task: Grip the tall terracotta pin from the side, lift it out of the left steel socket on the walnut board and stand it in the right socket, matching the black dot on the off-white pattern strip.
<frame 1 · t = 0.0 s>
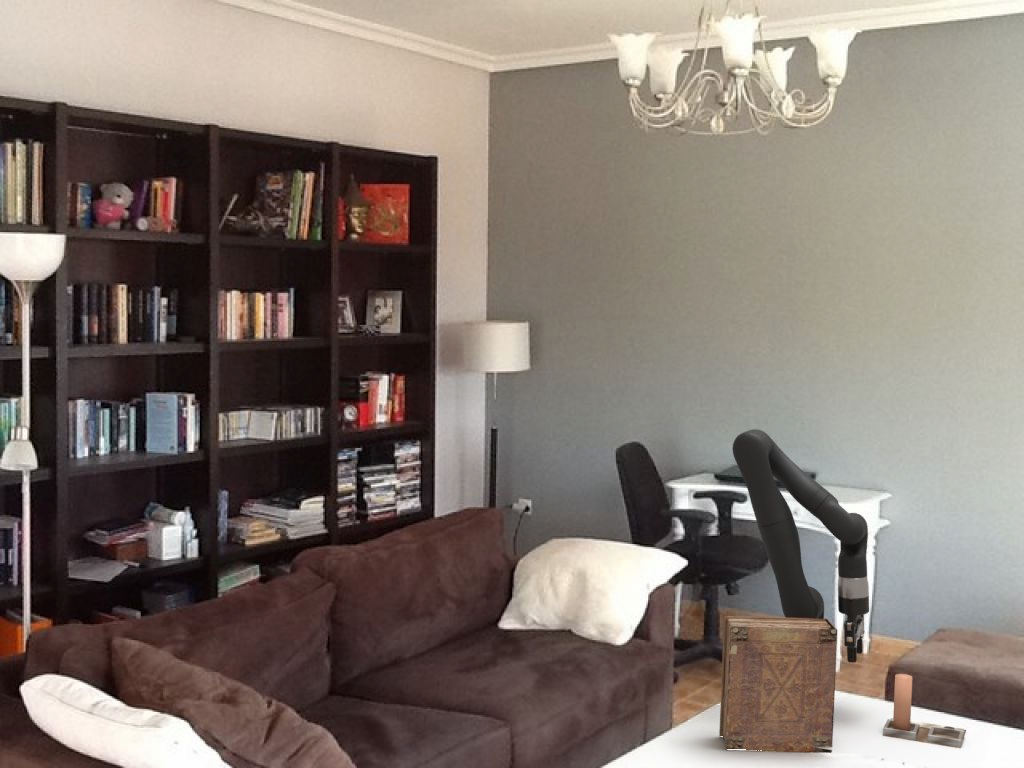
hand: (855, 657, 319), 17 cm above the table, tool pointing down, fingers open, 8 cm apart
walnut socket board: (924, 738, 311), on the table
book: (774, 745, 305), on the table
terracotta pin: (901, 732, 311), point 1 cm above the table, touching walnut socket board
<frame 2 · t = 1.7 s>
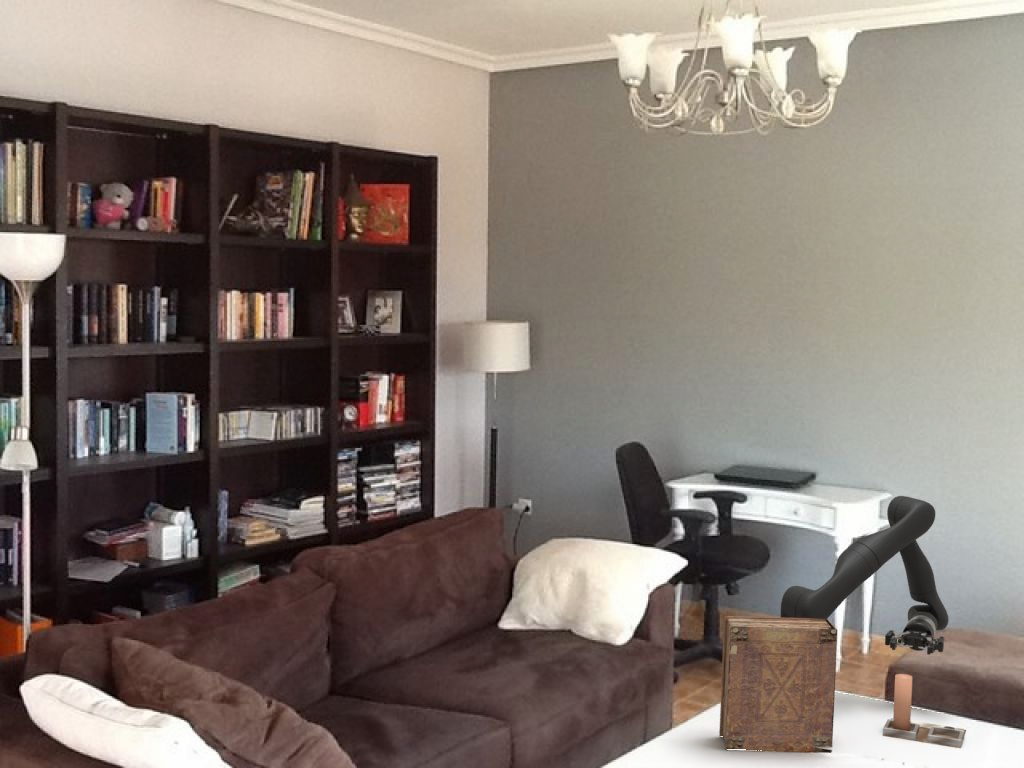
hand: (911, 648, 319), 20 cm above the table, tool horizontal, fingers open, 8 cm apart
nothing on the table moved.
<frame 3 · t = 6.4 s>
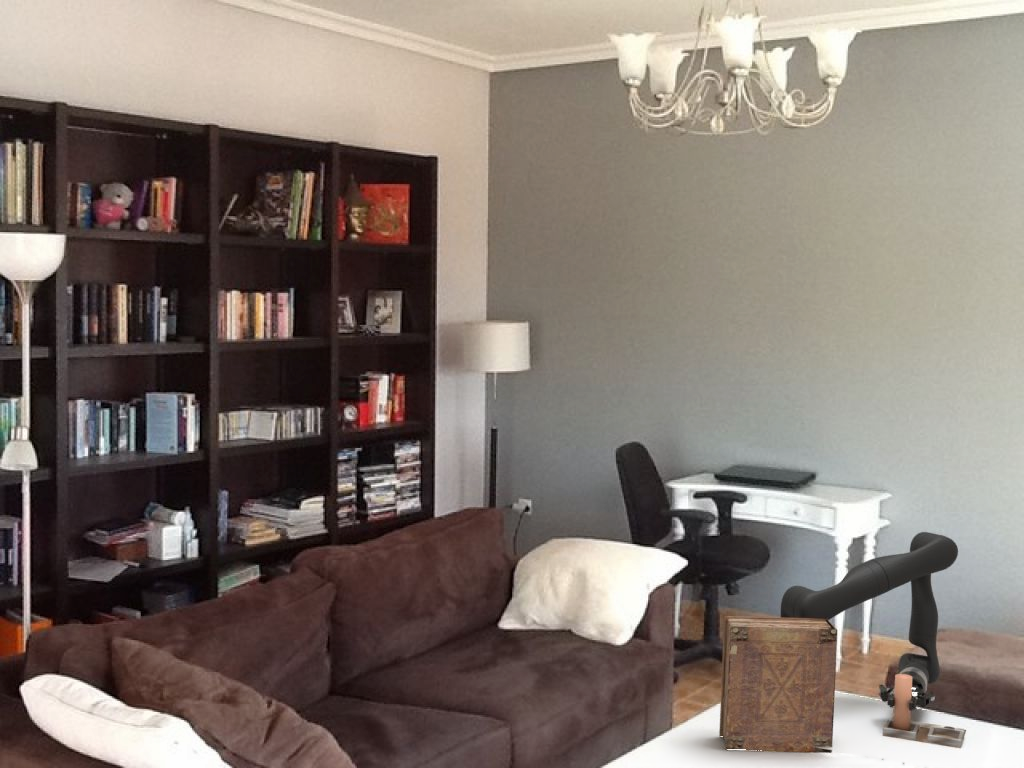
hand: (901, 704, 308), 9 cm above the table, tool horizontal, fingers closed on terracotta pin, 4 cm apart
terracotta pin: (901, 732, 311), point 2 cm above the table, touching gripper, walnut socket board
everything else where it was.
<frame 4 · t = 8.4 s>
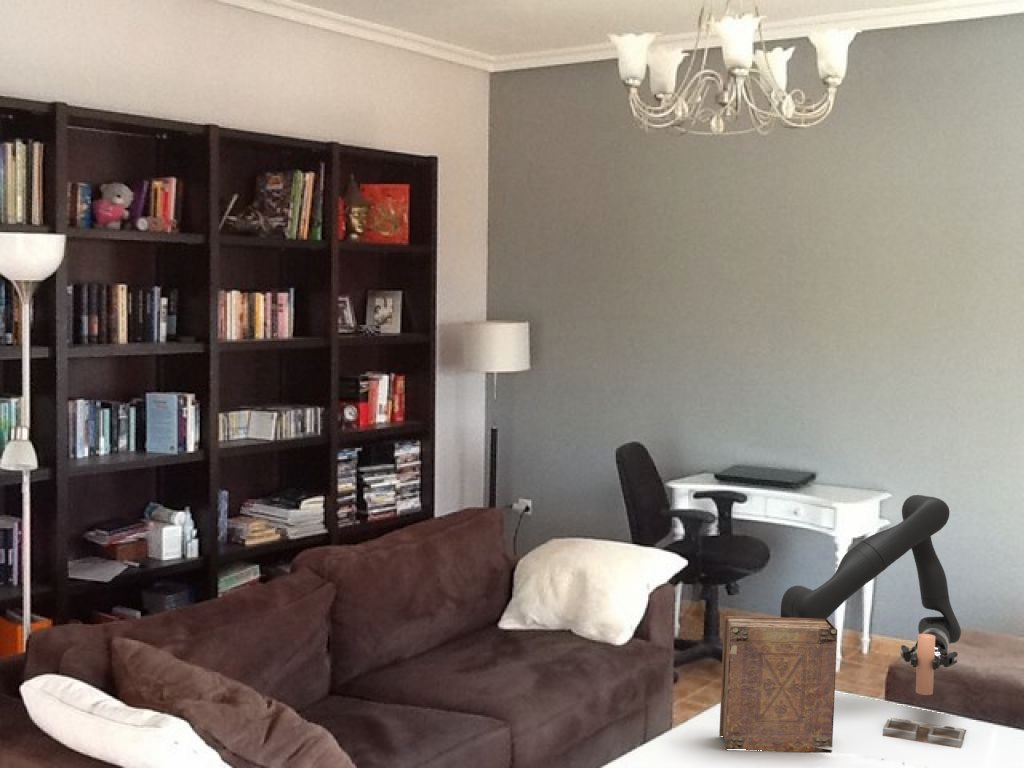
hand: (924, 664, 305), 20 cm above the table, tool horizontal, fingers closed on terracotta pin, 4 cm apart
terracotta pin: (924, 692, 308), point 12 cm above the table, touching gripper
everything else where it was.
when the fingers open (10 cm above the table, at t = 12.0 s): terracotta pin stays where it is, resting on walnut socket board.
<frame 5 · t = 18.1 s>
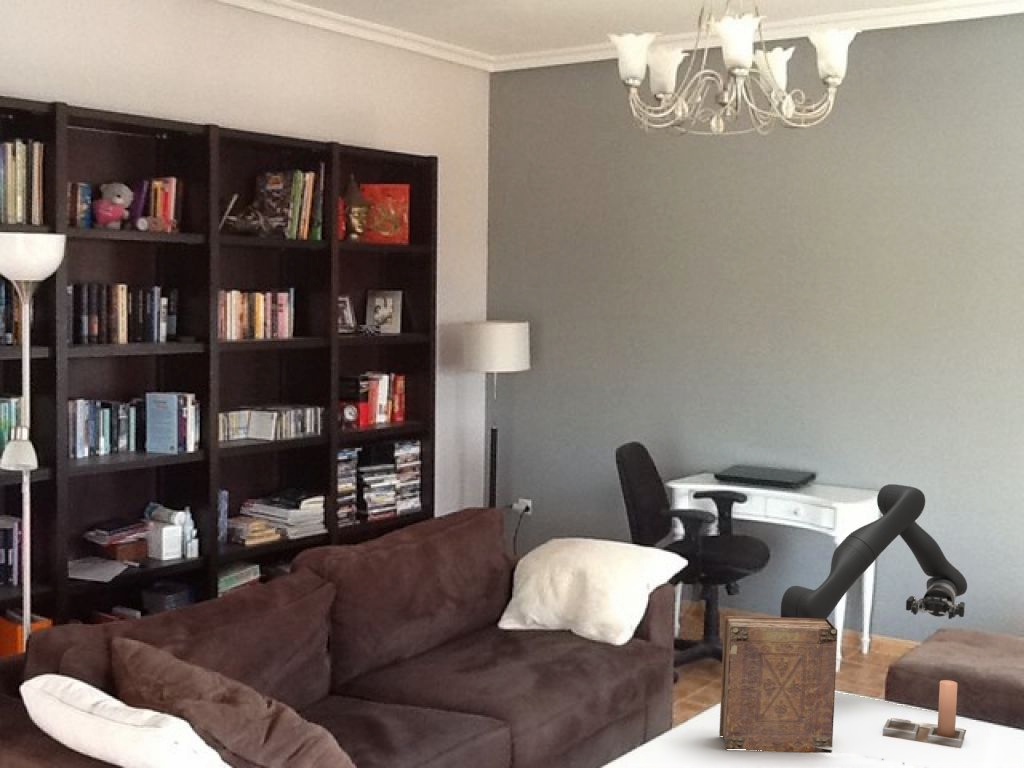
hand: (932, 612, 322), 28 cm above the table, tool horizontal, fingers open, 8 cm apart
terracotta pin: (945, 739, 307), point 2 cm above the table, touching walnut socket board
at the end: terracotta pin 0.1 cm from the target spot on the walnut socket board, point 1.5 cm above the walnut socket board's base; terracotta pin tilted 0°; the gripper is holding nothing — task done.
